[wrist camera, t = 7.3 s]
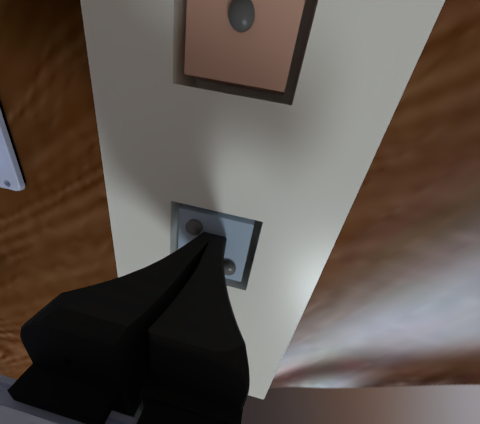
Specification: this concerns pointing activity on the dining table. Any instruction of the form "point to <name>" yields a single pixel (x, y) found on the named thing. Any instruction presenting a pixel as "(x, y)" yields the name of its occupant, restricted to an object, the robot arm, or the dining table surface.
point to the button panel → (248, 144)
